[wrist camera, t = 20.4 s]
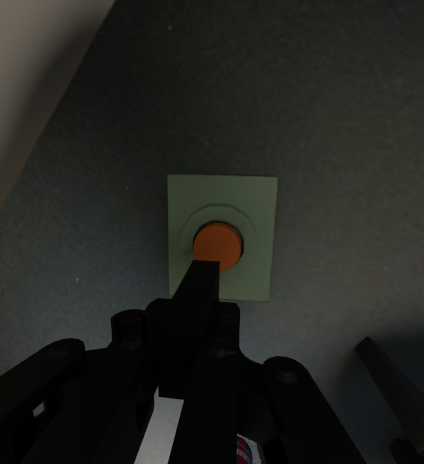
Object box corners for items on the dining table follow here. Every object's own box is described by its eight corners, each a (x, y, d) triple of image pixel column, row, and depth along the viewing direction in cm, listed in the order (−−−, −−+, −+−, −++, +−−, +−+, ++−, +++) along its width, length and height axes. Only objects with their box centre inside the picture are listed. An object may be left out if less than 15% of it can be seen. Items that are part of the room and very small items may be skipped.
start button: (196, 221, 24) (193, 224, 23) (241, 223, 24) (241, 227, 22) (196, 264, 25) (192, 270, 23) (239, 266, 25) (239, 273, 23)
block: (173, 174, 27) (161, 174, 23) (275, 176, 26) (281, 177, 22) (174, 286, 30) (163, 303, 26) (267, 292, 29) (270, 311, 25)
